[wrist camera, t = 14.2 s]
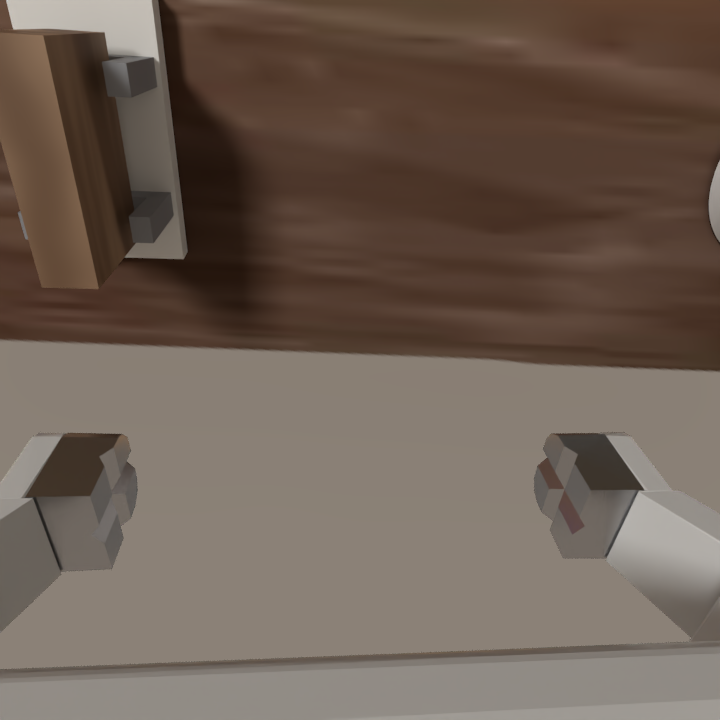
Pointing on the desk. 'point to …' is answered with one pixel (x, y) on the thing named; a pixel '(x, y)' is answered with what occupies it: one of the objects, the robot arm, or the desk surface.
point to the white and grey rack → (130, 108)
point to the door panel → (65, 154)
